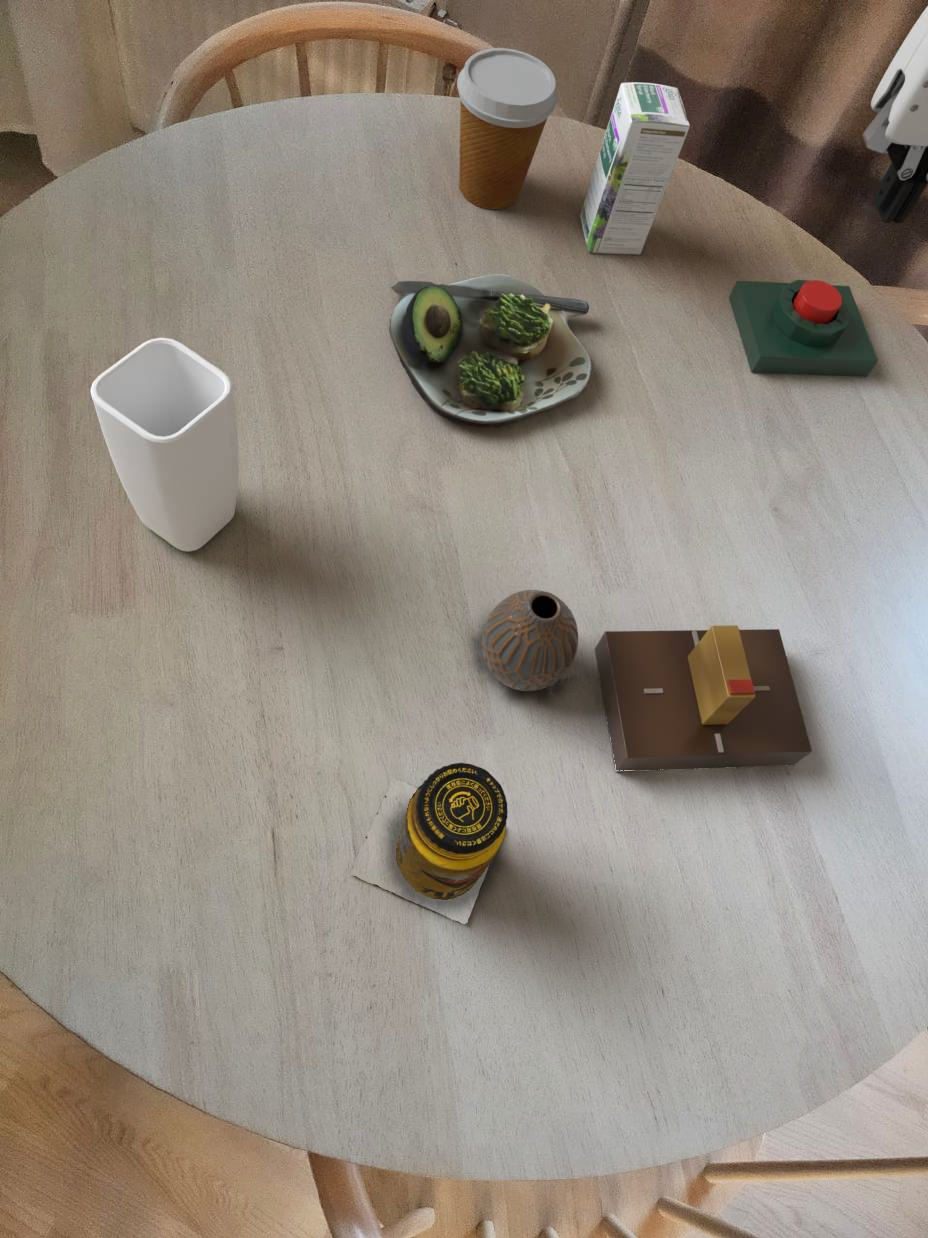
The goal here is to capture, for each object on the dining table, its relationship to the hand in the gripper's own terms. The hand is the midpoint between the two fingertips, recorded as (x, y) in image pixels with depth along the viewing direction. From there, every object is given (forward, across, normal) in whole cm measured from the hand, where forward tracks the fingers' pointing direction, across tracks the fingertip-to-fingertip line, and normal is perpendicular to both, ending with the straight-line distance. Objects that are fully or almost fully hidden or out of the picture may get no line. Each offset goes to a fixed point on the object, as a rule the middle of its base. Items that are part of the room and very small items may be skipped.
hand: (887, 211), depth 80 cm
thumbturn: (+12, +20, +38) cm, 45 cm away
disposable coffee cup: (+14, +30, -20) cm, 39 cm away
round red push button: (+11, +1, -1) cm, 11 cm away
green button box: (+15, +1, -1) cm, 15 cm away
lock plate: (+15, +20, +38) cm, 46 cm away
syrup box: (+14, +18, -14) cm, 27 cm away
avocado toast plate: (+14, +33, +3) cm, 36 cm away
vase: (+15, +33, +34) cm, 50 cm away
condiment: (+15, +41, +48) cm, 65 cm away
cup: (+14, +58, +21) cm, 64 cm away
